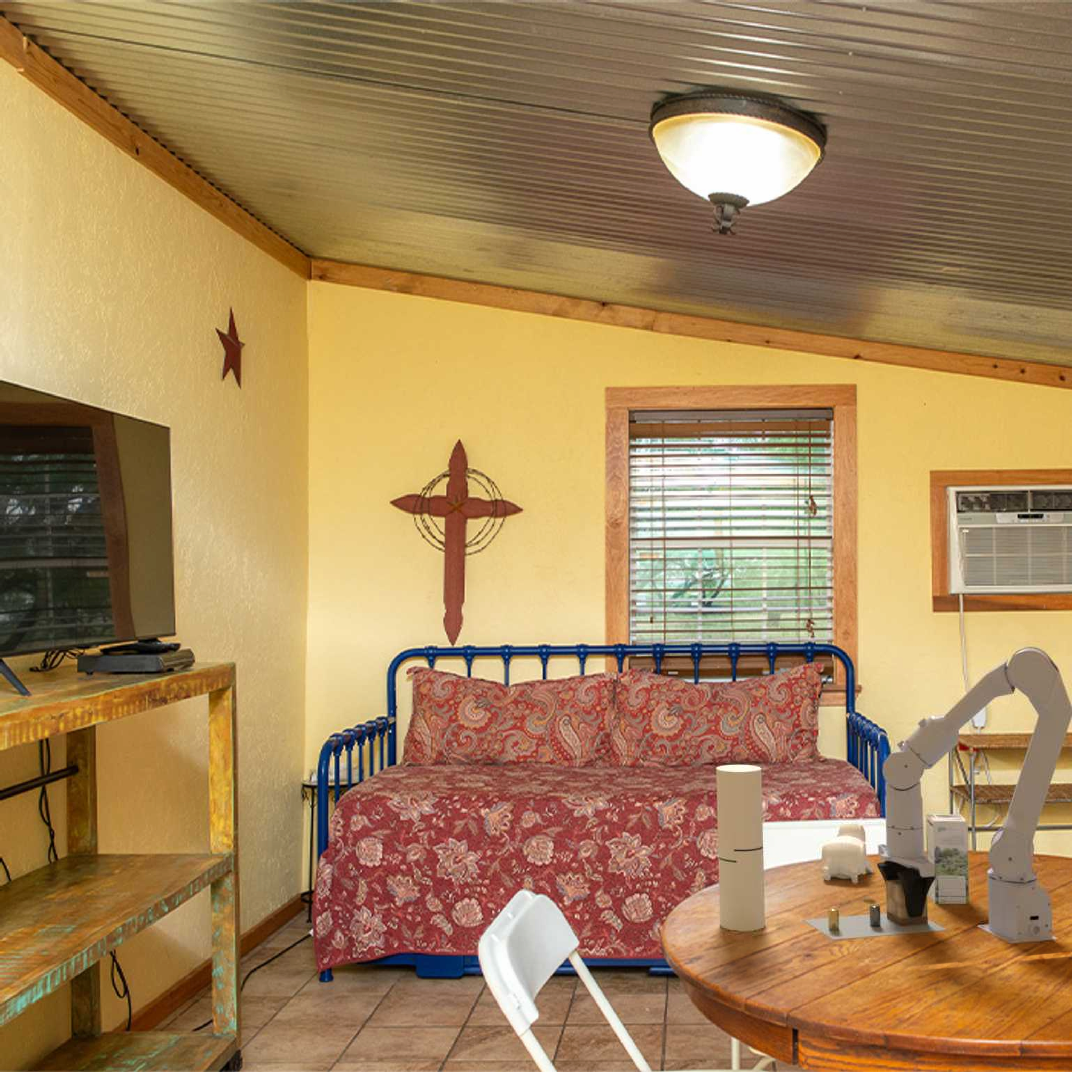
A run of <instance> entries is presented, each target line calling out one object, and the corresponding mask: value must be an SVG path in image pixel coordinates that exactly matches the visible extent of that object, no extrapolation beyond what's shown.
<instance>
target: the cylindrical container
mask: <svg viewBox="0 0 1072 1072" xmlns="http://www.w3.org/2000/svg"><path fill="white" fill-rule="evenodd" d="M715 772H716V774H715V775H716V806H717V807H716V808H717V809H716V811H717V815H716V816H717V845H718V846H717V848H718V849H717V850H718V851H717V854H718V856H717V857H718V858H717V859H718V895H719V896H718V897H719V901H718V902H719V925H721V926H722V929H725V928H727V929H726V930H728V929H729V931H733V930H738V931H737V932H755V931H754V930H756V931H759V929H760V930H762V929H764V928H765V927H766V911H765V910H766V909H765V908H766V906H765V899H766V898H765V874H764V873H765V868H764V867H765V866H764V865H765V864H764V861H765V860H764V833H763V832H764V831H763V830H764V828H763V827H764V825H763V824H764V823H763V819H764V818H763V787H762V785H763V784H762V783H763V782H762V768H761V767H760V766H756V765H751V764H725V765H719V766H717V767H716V771H715ZM721 926H720V927H721ZM764 926H765V927H764ZM761 928H762V929H761Z"/></svg>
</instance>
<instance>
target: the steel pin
mask: <svg viewBox="0 0 1072 1072" xmlns="http://www.w3.org/2000/svg"><path fill="white" fill-rule="evenodd" d="M869 914H870V926H872V927H880V926H881V921H880V914H881V906H880V905H879V904H878V905H877V904H871V905H869Z"/></svg>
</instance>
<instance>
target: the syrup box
mask: <svg viewBox="0 0 1072 1072" xmlns="http://www.w3.org/2000/svg"><path fill="white" fill-rule="evenodd" d="M968 825H969V823H968V821H967V820H966V819H965V818H964V816H962V815H961V814H952V813H951V814H947V813H946V814H945V813H943V814H926V815H925V828H926V829H925V830H926V831H925V833H926V834H925V835H926V856H927V858H928V859H929V860H930V862H932V863H934V866H935V874H936V878H935V880H934V881H933V883H932V885H931V887H930V889H929V891H928V894H927V897H929V898H930V899H931V900H932V902H933V903H934V904H942V905H943V904H956V905H957V904H960V905H961V904H963V905H965V904H966V905H968V904H970V880H969V878H970V876H969V875H970V874H969V827H968Z"/></svg>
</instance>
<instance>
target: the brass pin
mask: <svg viewBox="0 0 1072 1072" xmlns="http://www.w3.org/2000/svg"><path fill="white" fill-rule="evenodd" d="M827 910H828V911H827V915H828V916H827V918H828V924H829V930H832V931H837V930H839V917H840V915H839V914H840V912H839V908H828V909H827Z"/></svg>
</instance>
